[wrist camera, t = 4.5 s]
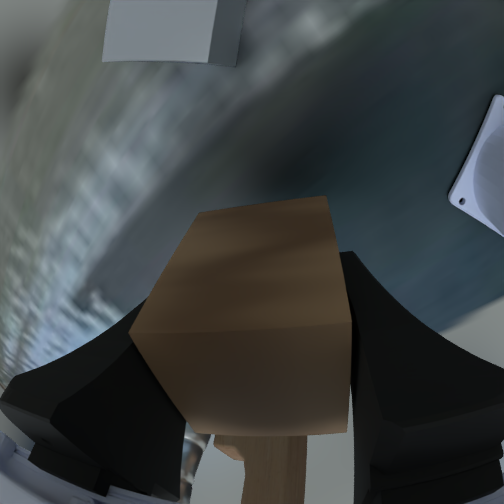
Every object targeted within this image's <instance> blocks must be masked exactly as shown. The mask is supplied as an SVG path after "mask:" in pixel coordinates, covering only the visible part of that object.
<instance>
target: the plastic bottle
mask: <svg viewBox="0 0 504 504" xmlns="http://www.w3.org/2000/svg"><path fill="white" fill-rule="evenodd" d="M210 437H211V434H203V433H195V432H194V430H193V429H192V428H191V426H190V425H189V424H188V422H186V429H185V436H184V443H183V453H182V464H181V481H180V500H179V501H178V502H177V503H182V504H190V498H191V494H192V485H193V483H194V477H195V474H196V472H197V469H198V466H199V463H200V460H201V457H202V454H203V452H204V451H205V449H206V447H207V444H208V442H209V440H210Z"/></svg>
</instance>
